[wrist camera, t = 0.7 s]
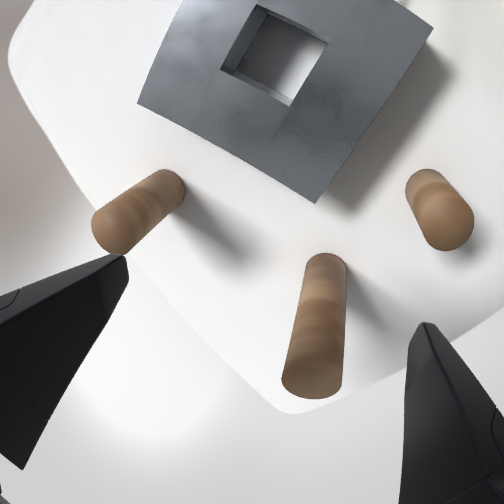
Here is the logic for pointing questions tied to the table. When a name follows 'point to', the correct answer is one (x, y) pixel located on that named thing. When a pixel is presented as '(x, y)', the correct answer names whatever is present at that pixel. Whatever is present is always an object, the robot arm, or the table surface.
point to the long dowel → (318, 331)
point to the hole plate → (272, 102)
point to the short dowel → (439, 210)
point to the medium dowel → (137, 211)
